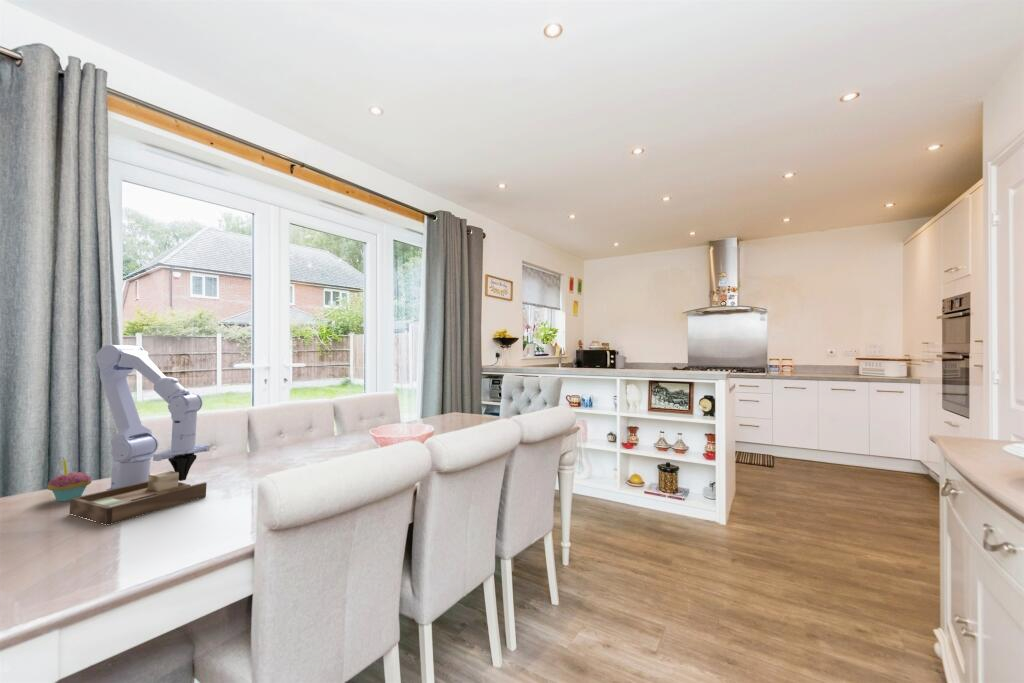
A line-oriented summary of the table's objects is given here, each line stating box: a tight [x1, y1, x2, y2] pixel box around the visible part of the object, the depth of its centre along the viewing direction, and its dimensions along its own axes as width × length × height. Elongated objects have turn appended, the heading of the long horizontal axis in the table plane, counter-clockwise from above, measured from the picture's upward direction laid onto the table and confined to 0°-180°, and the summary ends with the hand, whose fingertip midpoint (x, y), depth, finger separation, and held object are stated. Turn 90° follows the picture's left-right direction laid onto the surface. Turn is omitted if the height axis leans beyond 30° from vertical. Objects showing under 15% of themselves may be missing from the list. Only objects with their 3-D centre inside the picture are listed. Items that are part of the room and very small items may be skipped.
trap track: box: [69, 481, 208, 526], centre depth 114 cm, size 16×23×4 cm
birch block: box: [148, 470, 179, 491], centre depth 121 cm, size 5×5×4 cm
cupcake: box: [47, 457, 93, 502], centre depth 117 cm, size 9×8×12 cm
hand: (181, 479), depth 126 cm, fingers closed
